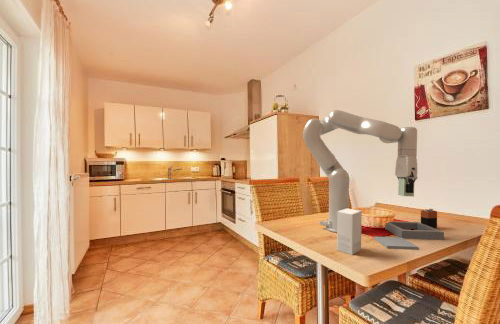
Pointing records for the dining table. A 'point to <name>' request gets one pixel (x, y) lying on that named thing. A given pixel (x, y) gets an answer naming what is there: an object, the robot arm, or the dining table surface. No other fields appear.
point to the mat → (396, 243)
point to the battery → (429, 218)
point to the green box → (403, 188)
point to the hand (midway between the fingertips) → (405, 191)
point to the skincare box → (349, 230)
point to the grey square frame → (419, 232)
